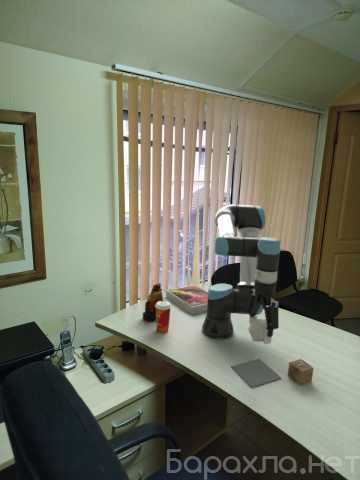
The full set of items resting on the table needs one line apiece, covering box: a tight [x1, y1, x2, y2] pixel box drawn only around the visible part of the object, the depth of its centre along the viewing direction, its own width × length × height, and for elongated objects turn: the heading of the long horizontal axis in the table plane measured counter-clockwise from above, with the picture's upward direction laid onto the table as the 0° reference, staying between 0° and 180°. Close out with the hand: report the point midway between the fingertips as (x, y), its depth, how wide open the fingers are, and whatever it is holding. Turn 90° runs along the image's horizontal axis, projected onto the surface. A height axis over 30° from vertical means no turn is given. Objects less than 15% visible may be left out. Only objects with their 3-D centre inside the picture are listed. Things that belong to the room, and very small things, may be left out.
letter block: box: [287, 358, 314, 387], centre depth 112 cm, size 6×6×6 cm
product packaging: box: [165, 284, 208, 316], centre depth 179 cm, size 22×28×5 cm
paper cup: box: [155, 300, 172, 334], centre depth 143 cm, size 8×8×14 cm
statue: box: [142, 282, 164, 323], centre depth 154 cm, size 12×8×20 cm, turn 129°
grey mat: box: [230, 358, 282, 389], centre depth 115 cm, size 13×14×1 cm
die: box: [247, 318, 267, 343], centre depth 112 cm, size 8×9×10 cm
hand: (259, 337), depth 112 cm, fingers closed on die, 8 cm apart
